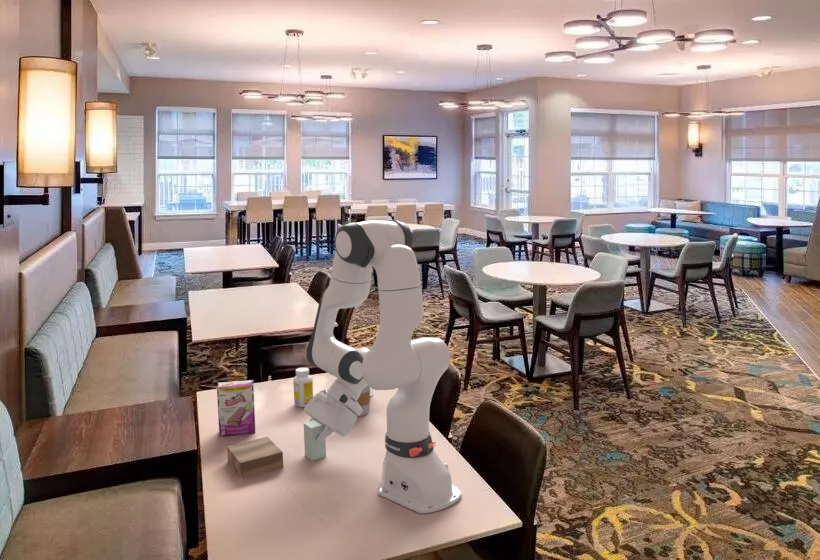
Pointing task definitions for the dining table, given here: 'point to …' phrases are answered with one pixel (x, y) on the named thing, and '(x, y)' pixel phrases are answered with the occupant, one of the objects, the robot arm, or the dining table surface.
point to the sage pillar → (314, 440)
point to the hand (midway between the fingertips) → (312, 437)
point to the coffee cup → (364, 400)
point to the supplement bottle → (302, 387)
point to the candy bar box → (236, 407)
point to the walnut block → (255, 457)
